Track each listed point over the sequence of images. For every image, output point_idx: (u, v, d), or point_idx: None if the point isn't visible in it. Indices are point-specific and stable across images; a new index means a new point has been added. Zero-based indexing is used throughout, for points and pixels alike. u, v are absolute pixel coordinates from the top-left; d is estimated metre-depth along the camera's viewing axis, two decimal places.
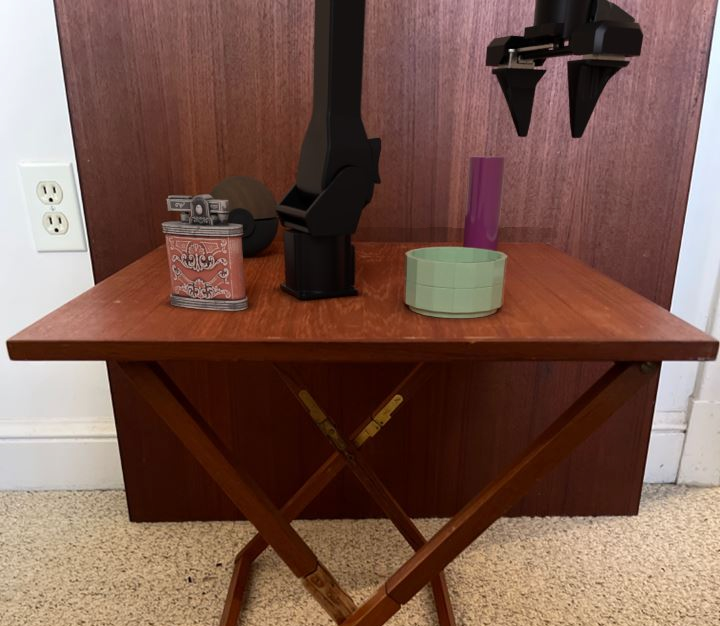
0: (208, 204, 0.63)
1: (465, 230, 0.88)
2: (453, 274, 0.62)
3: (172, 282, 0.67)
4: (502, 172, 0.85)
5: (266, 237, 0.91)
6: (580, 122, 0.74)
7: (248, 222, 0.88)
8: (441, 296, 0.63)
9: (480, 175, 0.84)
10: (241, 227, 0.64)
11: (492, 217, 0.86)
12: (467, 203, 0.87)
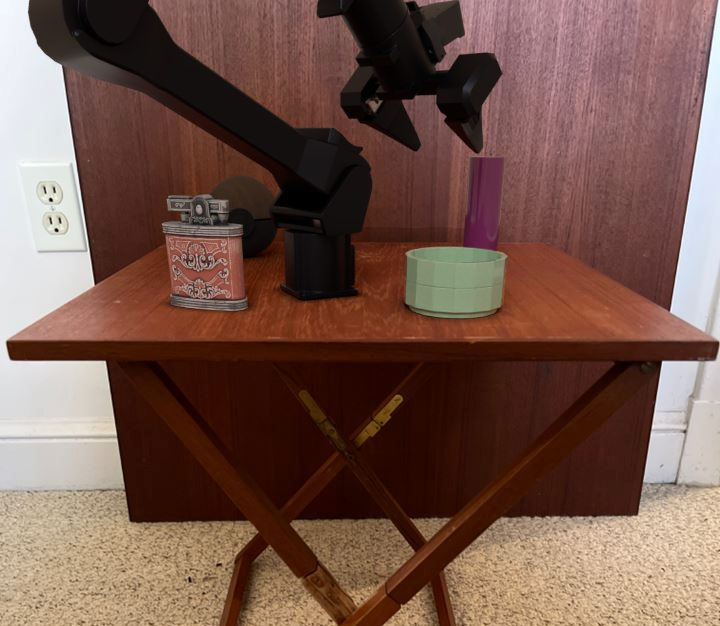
0: (208, 204, 0.63)
1: (465, 230, 0.88)
2: (453, 274, 0.62)
3: (172, 282, 0.67)
4: (502, 172, 0.85)
5: (266, 237, 0.91)
6: (478, 142, 0.75)
7: (248, 222, 0.88)
8: (441, 296, 0.63)
9: (480, 175, 0.84)
10: (241, 227, 0.64)
11: (492, 217, 0.86)
12: (467, 203, 0.87)
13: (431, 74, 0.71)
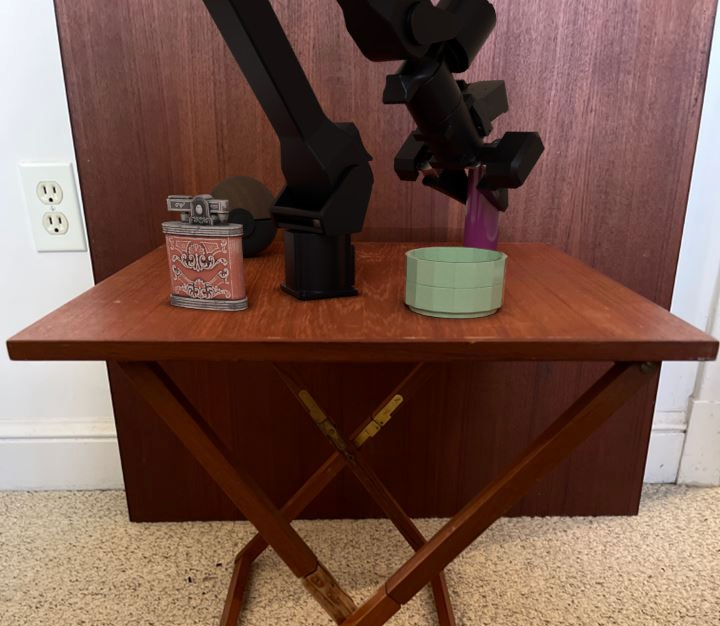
0: (208, 204, 0.63)
1: (465, 230, 0.88)
2: (453, 274, 0.62)
3: (172, 282, 0.67)
4: None
5: (266, 237, 0.91)
6: (504, 202, 0.85)
7: (248, 222, 0.88)
8: (441, 296, 0.63)
9: (480, 175, 0.84)
10: (241, 227, 0.64)
11: (491, 217, 0.86)
12: (467, 203, 0.87)
13: (480, 147, 0.79)
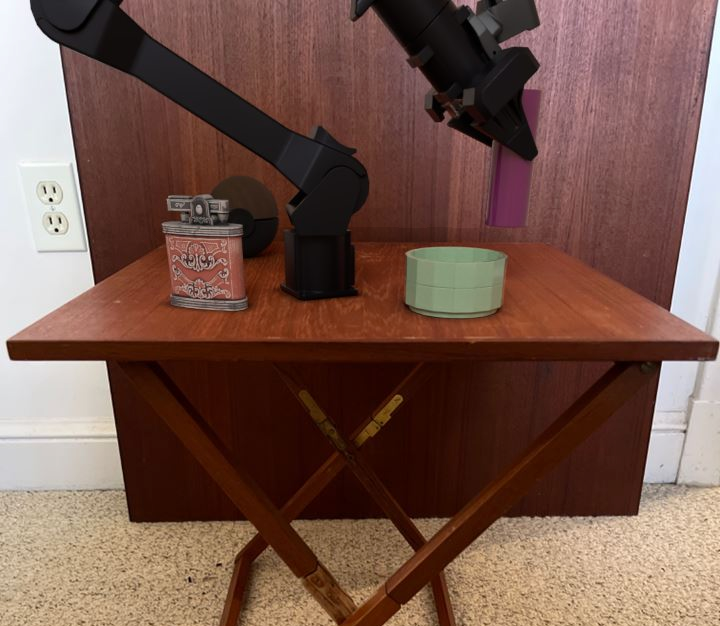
0: (208, 204, 0.63)
1: (489, 183, 0.73)
2: (453, 274, 0.62)
3: (172, 282, 0.67)
4: (529, 109, 0.67)
5: (266, 237, 0.91)
6: (525, 148, 0.68)
7: (248, 222, 0.88)
8: (441, 296, 0.63)
9: None
10: (241, 227, 0.64)
11: (511, 166, 0.69)
12: (492, 149, 0.71)
13: (478, 73, 0.65)
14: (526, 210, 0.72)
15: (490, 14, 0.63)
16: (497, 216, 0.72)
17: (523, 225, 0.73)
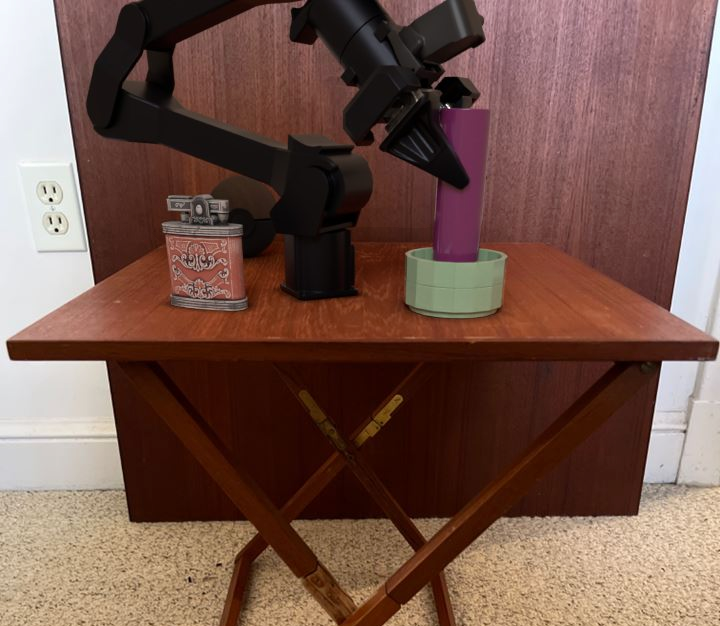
0: (208, 204, 0.63)
1: None
2: (453, 274, 0.62)
3: (172, 282, 0.67)
4: (459, 131, 0.59)
5: (266, 237, 0.91)
6: (450, 175, 0.60)
7: (248, 222, 0.88)
8: (441, 296, 0.63)
9: None
10: (241, 227, 0.64)
11: (443, 194, 0.62)
12: None
13: None
14: (465, 244, 0.63)
15: (412, 28, 0.57)
16: (434, 248, 0.65)
17: (461, 261, 0.64)
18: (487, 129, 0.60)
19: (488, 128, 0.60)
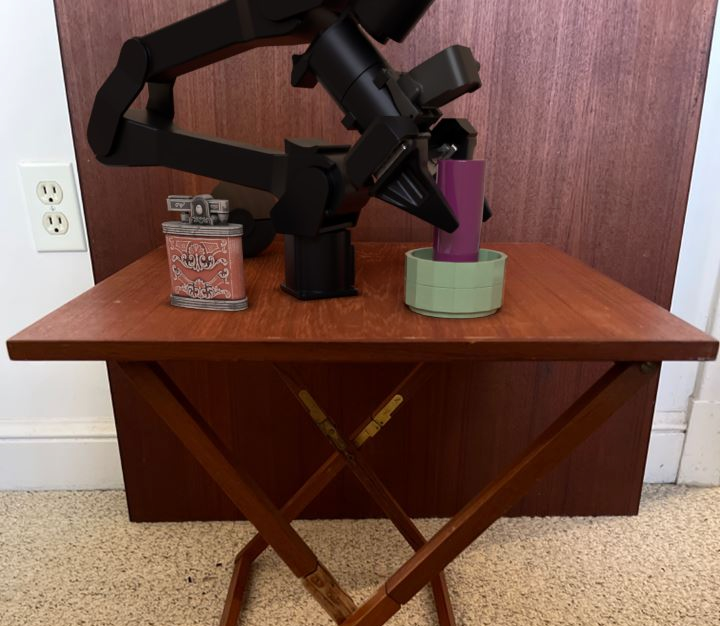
0: (208, 204, 0.63)
1: None
2: (453, 274, 0.62)
3: (172, 282, 0.67)
4: (456, 181, 0.61)
5: (266, 237, 0.91)
6: (440, 219, 0.60)
7: (248, 222, 0.88)
8: (441, 296, 0.63)
9: None
10: (241, 227, 0.64)
11: (440, 241, 0.64)
12: None
13: None
14: None
15: (410, 76, 0.59)
16: None
17: None
18: (482, 179, 0.62)
19: (483, 178, 0.62)
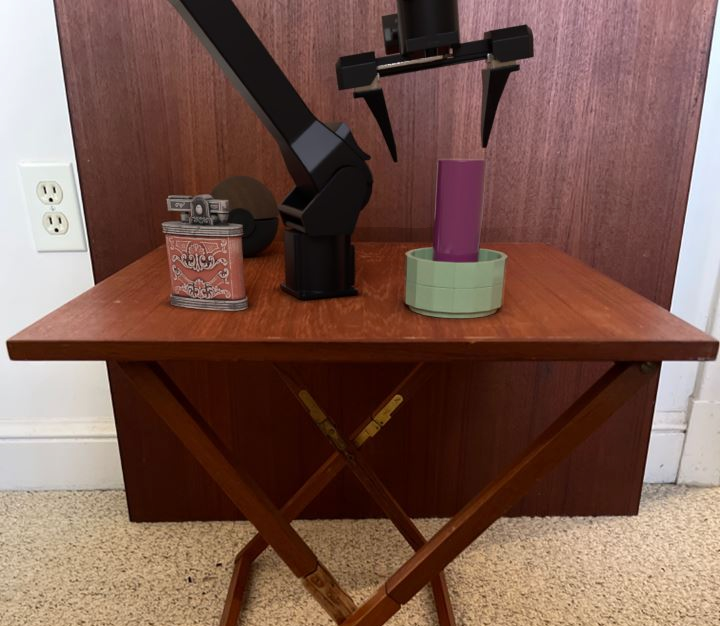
0: (208, 204, 0.63)
1: None
2: (453, 274, 0.62)
3: (172, 282, 0.67)
4: (456, 181, 0.61)
5: (266, 237, 0.91)
6: None
7: (248, 222, 0.88)
8: (441, 296, 0.63)
9: None
10: (241, 227, 0.64)
11: (440, 241, 0.64)
12: None
13: None
14: None
15: None
16: None
17: None
18: (482, 179, 0.62)
19: (483, 178, 0.62)
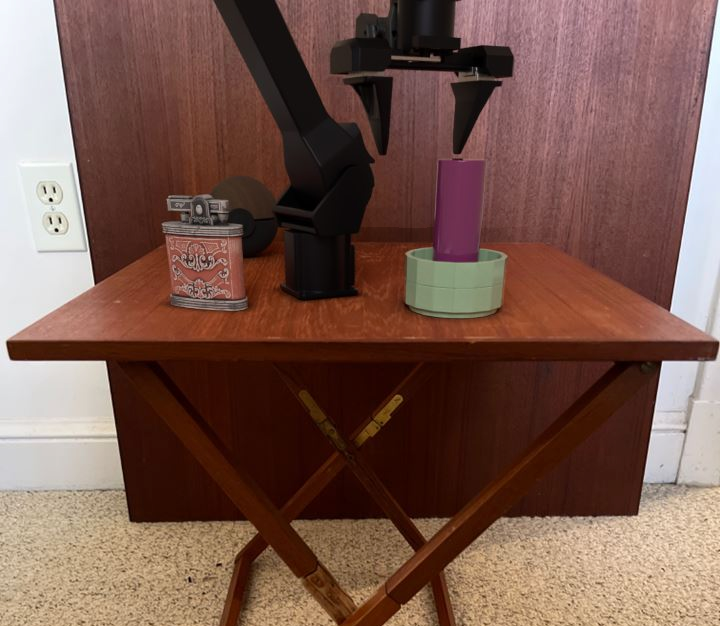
0: (208, 204, 0.63)
1: None
2: (453, 274, 0.62)
3: (172, 282, 0.67)
4: (456, 181, 0.61)
5: (266, 237, 0.91)
6: None
7: (248, 222, 0.88)
8: (441, 296, 0.63)
9: None
10: (241, 227, 0.64)
11: (440, 241, 0.64)
12: None
13: None
14: None
15: None
16: None
17: None
18: (482, 179, 0.62)
19: (483, 178, 0.62)
